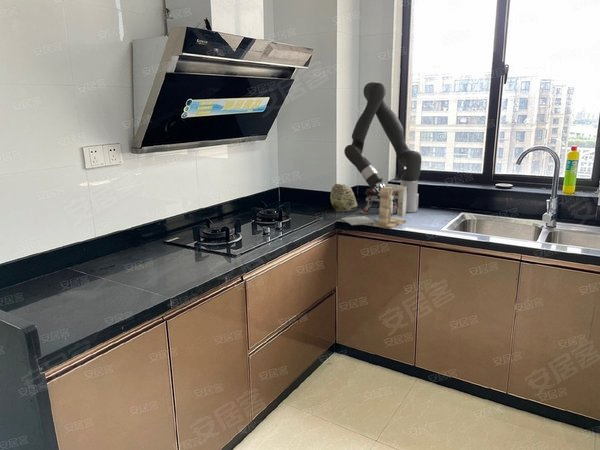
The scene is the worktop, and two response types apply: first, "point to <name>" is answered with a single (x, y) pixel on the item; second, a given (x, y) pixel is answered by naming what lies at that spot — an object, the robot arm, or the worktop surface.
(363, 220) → the mat
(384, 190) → the stand
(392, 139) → the robot arm
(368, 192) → the toy blaster
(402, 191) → the link
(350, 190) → the fossil
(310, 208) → the worktop surface
